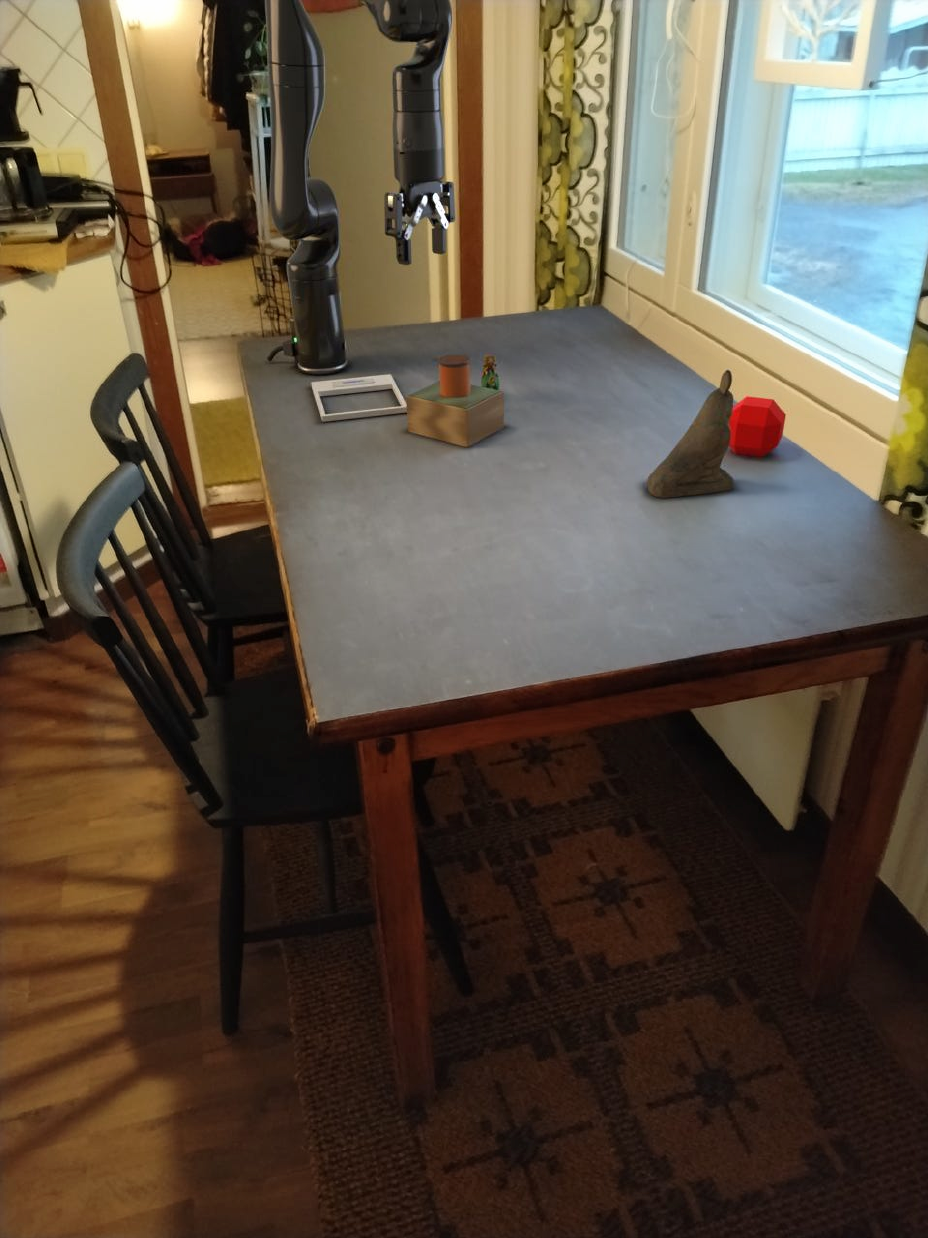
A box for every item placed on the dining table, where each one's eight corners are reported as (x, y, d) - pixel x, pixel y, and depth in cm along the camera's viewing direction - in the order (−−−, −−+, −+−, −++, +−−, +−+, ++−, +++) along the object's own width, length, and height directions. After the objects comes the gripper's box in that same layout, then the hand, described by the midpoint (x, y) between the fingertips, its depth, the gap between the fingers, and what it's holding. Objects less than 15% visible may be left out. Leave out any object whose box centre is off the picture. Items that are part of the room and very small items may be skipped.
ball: (782, 444, 146) (790, 396, 142) (773, 464, 140) (781, 414, 136) (729, 437, 149) (735, 390, 145) (718, 456, 143) (724, 407, 139)
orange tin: (433, 394, 152) (432, 360, 149) (452, 385, 155) (451, 352, 152) (458, 399, 149) (457, 365, 146) (476, 390, 153) (476, 357, 150)
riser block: (408, 432, 155) (405, 394, 152) (445, 413, 162) (444, 377, 159) (467, 447, 149) (466, 409, 146) (504, 427, 156) (503, 390, 152)
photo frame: (390, 373, 177) (408, 405, 162) (390, 379, 177) (408, 412, 162) (311, 381, 174) (321, 415, 159) (311, 387, 175) (322, 421, 160)
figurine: (495, 388, 172) (495, 343, 167) (503, 412, 162) (502, 364, 157) (478, 389, 171) (477, 344, 167) (485, 413, 161) (484, 365, 157)
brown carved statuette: (717, 492, 139) (758, 370, 130) (731, 508, 134) (775, 382, 125) (641, 482, 136) (677, 358, 127) (652, 498, 132) (691, 370, 123)
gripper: (428, 137, 148) (431, 247, 157) (367, 147, 139) (373, 264, 147) (467, 140, 144) (468, 253, 153) (407, 152, 135) (411, 271, 144)
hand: (422, 258), depth 150 cm, fingers open, 8 cm apart
